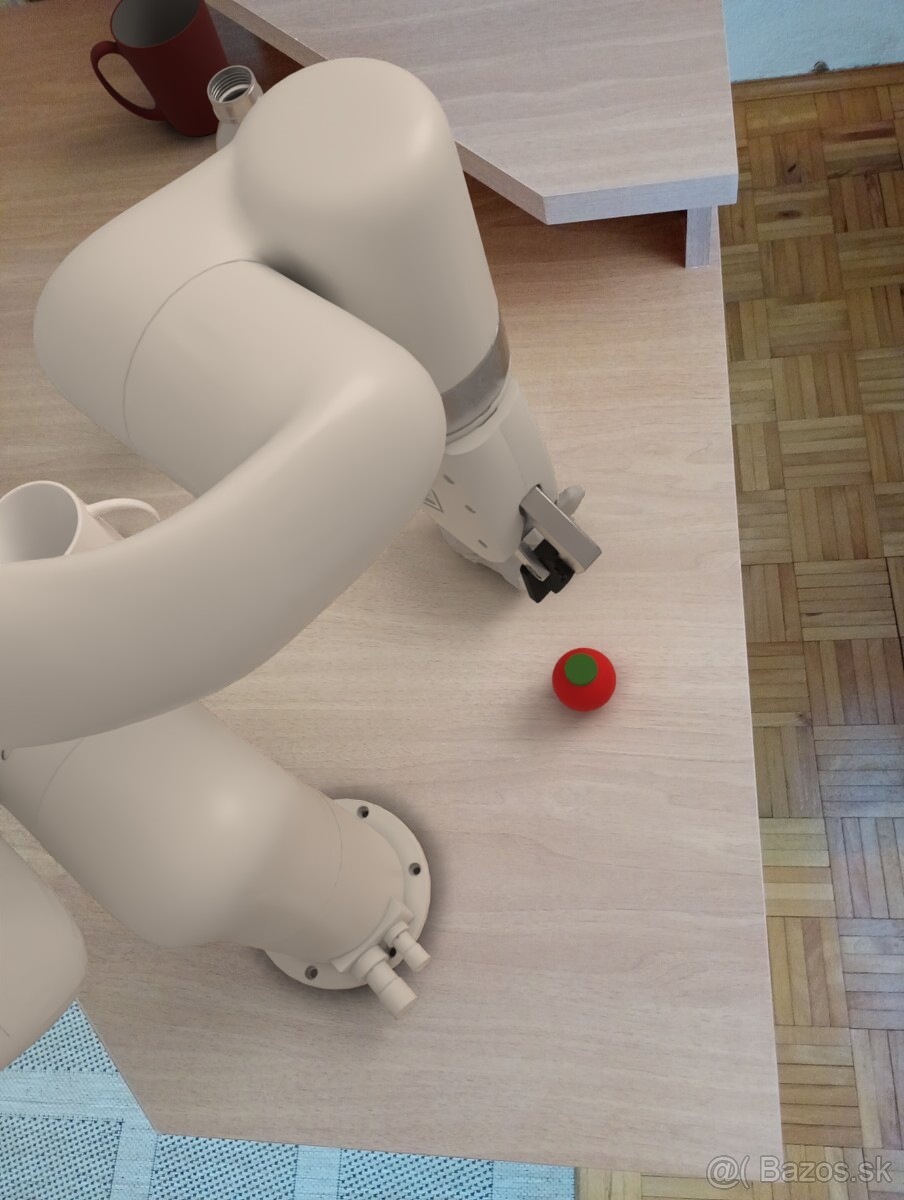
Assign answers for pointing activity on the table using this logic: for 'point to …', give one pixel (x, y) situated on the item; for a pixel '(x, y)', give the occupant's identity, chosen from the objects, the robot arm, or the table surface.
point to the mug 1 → (56, 522)
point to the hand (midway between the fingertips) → (489, 530)
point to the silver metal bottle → (232, 100)
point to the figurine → (512, 565)
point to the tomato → (584, 679)
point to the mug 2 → (167, 59)
